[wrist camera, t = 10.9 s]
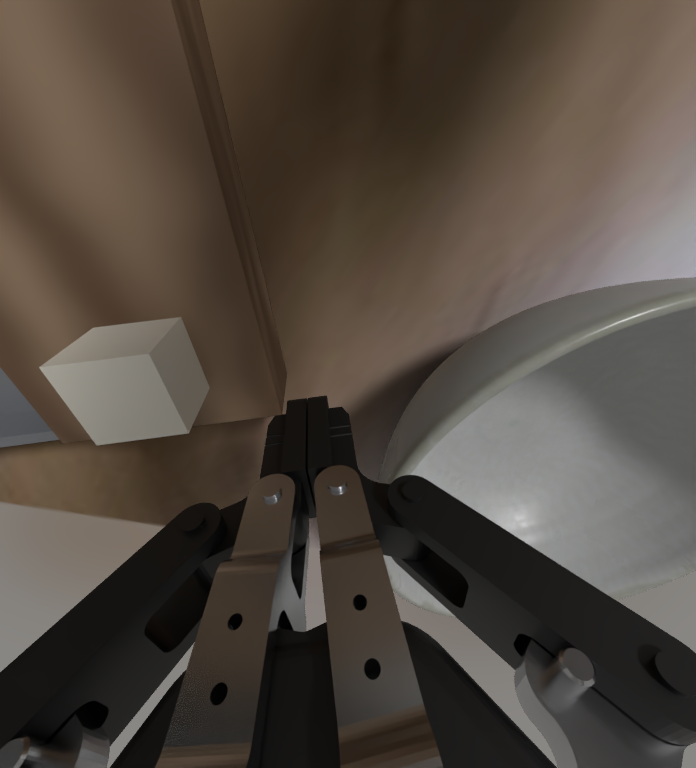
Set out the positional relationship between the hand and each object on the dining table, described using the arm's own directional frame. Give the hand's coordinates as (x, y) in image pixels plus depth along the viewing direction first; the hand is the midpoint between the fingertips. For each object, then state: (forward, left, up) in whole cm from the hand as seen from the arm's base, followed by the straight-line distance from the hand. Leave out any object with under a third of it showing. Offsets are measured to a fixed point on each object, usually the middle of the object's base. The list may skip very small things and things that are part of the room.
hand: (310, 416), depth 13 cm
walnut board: (+10, -5, -12) cm, 16 cm away
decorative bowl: (-15, +10, -12) cm, 22 cm away
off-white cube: (+9, 0, -7) cm, 11 cm away
